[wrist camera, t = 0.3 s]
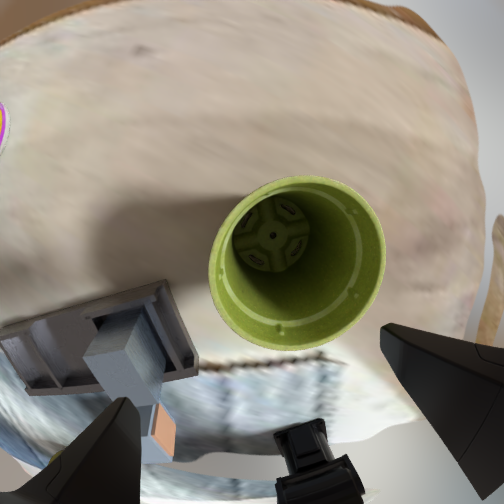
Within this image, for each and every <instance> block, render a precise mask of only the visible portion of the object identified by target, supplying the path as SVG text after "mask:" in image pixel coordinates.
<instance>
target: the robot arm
mask: <svg viewBox="0 0 504 504" xmlns="http://www.w3.org/2000/svg"><path fill="white" fill-rule="evenodd" d="M380 348H381V351H382V353H383V354H384V356H385V358H386V359H387V361H388V363H389V364H390V366H391V368H392V370H393V371H394V373H395V375H396V377H397V378H398V380H399V382H400V383H401V384H402V386H403V387H404V389H405V390H406V391H407V393H408V394H409V395H410V397H411V398H412V399H413V401H414V402H415V403H416V405H417V406H418V407H419V409H420V410H421V412H422V413H423V414H424V416H425V417H426V418H427V420H428V421H429V422H430V424H431V425H432V427H433V428H434V430H435V431H436V432H437V434H438V435H439V436H440V438H441V439H442V441H443V442H444V444H445V445H446V447H447V448H448V450H449V451H450V452H451V454H452V455H453V457H454V458H455V460H456V461H457V462H458V464H459V466H460V467H461V469H462V470H463V472H464V473H465V475H466V476H467V478H468V480H469V481H470V483H471V484H472V486H473V487H474V489H475V490H476V492H477V494H478V495H479V497H480V498H481V499H482V500H484V499H486V498H487V497H488V496H489V495H490V494H492V493H493V492H494V491H495V490H496V489H498V488H499V487H500V486H501V485H502V484H503V483H504V348H498V347H492V346H487V345H482V344H477V343H475V344H474V343H472V342H468V341H464V340H460V339H455V338H451V337H447V336H443V335H438V334H434V333H430V332H426V331H422V330H418V329H414V328H410V327H406V326H402V325H398V324H395V323H388V324H386V325H384V326H382V327H381V329H380ZM274 439H275V441H276V443H277V446H278V448H279V450H280V452H281V455H282V457H284V458H285V461H286V465H287V468H288V471H289V476H285V477H282V478H281V477H279V478H277V479H276V480H277V483H276V484H275V488H276V492H277V504H364V502H363V499H362V497H361V495H364V494H365V490H364V487H363V484H362V482H361V479H360V477H359V475H358V474H357V472H356V470H355V468H354V466H353V465H352V463H351V461H350V459H349V458H348V456H347V454H345V455H343V456H342V457H339V458H337V459H335V458H334V456H333V454H332V451H331V449H330V447H329V445H328V440H327V433H326V426H325V421H324V419H318V420H316V421H313V422H310V423H307V424H304V425H301V426H298V427H295V428H291V429H288V430H285V431H281V432H278V433H275V434H274ZM141 456H142V445H141V417H140V413H139V411H138V410H137V408H136V407H135V406H134V404H133V403H132V401H131V400H130V399H129V398H128V397H118V398H116V399H115V400H114V401H113V402H112V403H111V404H110V405H109V406H108V407H107V408H106V409H105V410H104V411H103V412H102V413H101V414H100V415H99V416H98V417H97V418H96V419H95V420H94V421H93V422H92V423H91V424H90V425H89V426H88V427H87V428H86V429H85V430H84V431H83V432H82V433H81V434H80V435H79V436H78V437H77V438H76V439H75V440H74V441H73V442H72V443H71V444H70V445H69V446H67V447H66V448H65V449H64V450H63V451H62V452H61V455H60V454H59V455H58V456H57V457H56V458H55V459H54V460H53V461H52V462H51V463H50V464H49V465H48V466H47V467H45V468H44V469H43V470H42V471H41V472H39V473H38V474H37V475H36V476H34V477H33V478H32V479H31V480H29V481H28V482H27V483H25V484H24V485H23V486H22V487H20V488H19V489H17V490H15V491H12V492H0V504H140V477H141Z"/></svg>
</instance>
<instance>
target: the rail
mask: <svg viewBox="0 0 504 504" xmlns="http://www.w3.org/2000/svg"><path fill="white" fill-rule="evenodd" d="M0 346H1V348H2V350H3V351H4V353H5V355H6V356H7V358H8V359H9V361H10V363H11V364H12V366H13V367H14V369H15V370H16V372H17V373H18V375H19V376H20V378H21V379H22V381H23V382H24V383H25V385H26V388H25V391H26V392H27V393H28V395H29V396H46V395H67V394H81V393H92V392H102V391H105V392H106V393H107V395H108V396H109V397H110V399H111V400H112V401H114V400H115V399H116V398H118V397H128V398H129V399H130V400H131V401H132V403H133V404H134V406H135V407H139V406H147V405H154V404H159V398H160V393H161V387H162V383H163V382H168V381H173V380H179V379H183V378H188V377H193V376H197V375H198V367H199V356H198V354H197V351H196V349H195V347H194V345H193V343H192V341H191V338H190V336H189V334H188V332H187V330H186V327H185V325H184V323H183V320H182V318H181V316H180V313H179V311H178V309H177V306H176V304H175V301H174V299H173V297H172V294H171V292H170V289H169V287H168V284H167V281H166V279H165V280H162V281H158V282H155V283H151V284H148V285H145V286H141V287H138V288H134V289H131V290H128V291H124V292H121V293H117V294H114V295H111V296H107V297H104V298H100V299H97V300H94V301H90V302H87V303H83V304H80V305H76V306H73V307H70V308H66V309H63V310H59V311H56V312H53V313H49V314H46V315H42V316H39V317H35V318H32V319H29V320H25V321H22V322H18V323H15V324H11V325H8V326H4V327H3V328H2V329H1V330H0Z"/></svg>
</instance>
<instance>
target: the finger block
mask: <svg viewBox="0 0 504 504" xmlns="http://www.w3.org/2000/svg"><path fill="white" fill-rule="evenodd" d="M136 408H137V410H138V411H139V413H140V417H141V445H142V456H141V463H142V464H154V463H171V462H172V457H173V456H174V444H175V431H176V425H175V420H174V419H173V418H172V416H171V415H170V414H169V412H168V411H167V409H166V408H165V407H164V405H163V404H162V402H161V401H160V399H159V404H154V405H147V406H139V407H136Z"/></svg>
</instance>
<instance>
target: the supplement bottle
mask: <svg viewBox="0 0 504 504" xmlns="http://www.w3.org/2000/svg"><path fill="white" fill-rule="evenodd" d="M9 129H10V115H9V111H8V109H7V107H6V106H5V105H4V104H3V103H2V102H0V155H1V153H2V151H3V149H4V147H5V145H6V142H7V139H8V135H9Z"/></svg>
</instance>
